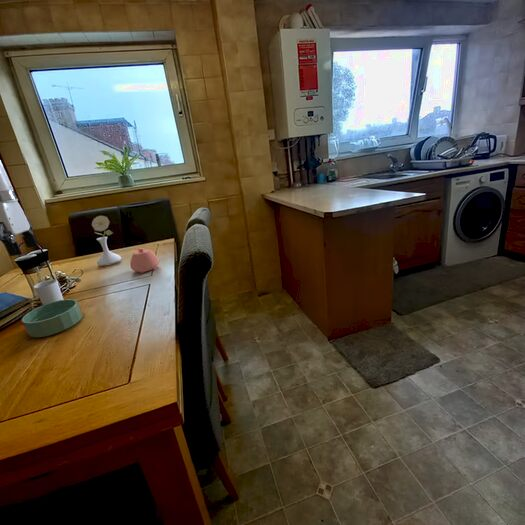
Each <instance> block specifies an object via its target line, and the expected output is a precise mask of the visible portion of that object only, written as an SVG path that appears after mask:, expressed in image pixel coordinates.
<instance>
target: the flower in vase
mask: <svg viewBox="0 0 525 525" xmlns="http://www.w3.org/2000/svg"><path fill="white" fill-rule="evenodd" d="M110 223H111V222H110V220H109V218H108V216H105V215H98V216H96V217H95V218H93V220H92V221H91V226H92V228H93V230H94V231H96V232H95V234H97V235H101V237H97V238H96V241H98V243H99V244H100V245H101V248H102V254H101V255H100V256H99V258H98V260H97V261H96V265H98V266H104V267H105V266H111V265H114V264H116V263H118V262H121V260H122V257H121V256H120V255H119V254H116V253H114V252H112V251H110V250H109V248H108V244H107V240H108V236H111V235H112V234H114V232H113V231H111V230H110V229H108V228H109V225H110ZM99 232H103V234H102V233H99ZM105 235H107V236H105Z"/></svg>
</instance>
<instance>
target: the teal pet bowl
mask: <svg viewBox="0 0 525 525" xmlns="http://www.w3.org/2000/svg"><path fill="white" fill-rule="evenodd" d="M82 318H83V312H82V310H81V307H80V304H79V301H78V300H77V299H74V298H66V299H64V300H59V301H55V302H51V303H48V304H45V305H43V304H42V305H40V306H38V307H35V308H34V309H32V310H30V311H28V312H27V313H25V315H24V316H23V317H22V318H21V323H22V325H23V327H24V329H25V331H26V333H27V335H28V336H29V337H30V338H43V337H49V336H52V335H56V334H59V333H61V332H63V331H65V330H67V329H69V328H71V327H73V326H75V325H76V324H77V323H79V322H80V321H81V320H82Z"/></svg>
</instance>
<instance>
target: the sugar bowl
mask: <svg viewBox="0 0 525 525" xmlns="http://www.w3.org/2000/svg"><path fill="white" fill-rule="evenodd" d="M129 262H130V269H131V270H132V271H133V272H135V273H140V274H144V273H146V272H149V271H152V270H156V268H157V267H158V266H159V265H160V260H159V258H158V256H157V255H156V253H154V252H153V251H152V250H151V249H149V248H144V247H139V248H138V249H137V250H136V251H134V252H133V253H132V255H131V258H130V261H129Z"/></svg>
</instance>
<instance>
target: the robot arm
mask: <svg viewBox="0 0 525 525" xmlns="http://www.w3.org/2000/svg"><path fill="white" fill-rule="evenodd" d="M18 201H19V198H18V197H17V195H16V192H15V191H14V188H13V186H12V183H11V181H10V179H9V176H8V174H7V172H6V169H5V168H4V165H3V163H2V160H0V242H1V244H2V245H4V247H5V249H6V251H7V253H8V256H10V257H16V256H20V255H22V254H23V252H22V250H21V248H20V246H19V245H20V244H19V243H18V241H16V236H17V235H22V240H23V242H24V244H25V247H26V248H27V249H30V248H35V247H39V244H38V242H37V240H36V237H35V234H34V231H33V227H32V222H31V220H28V217H27V216H26V214H25V212H24V210H23V208H22V207H21V205H20V203H19V202H18Z"/></svg>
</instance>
